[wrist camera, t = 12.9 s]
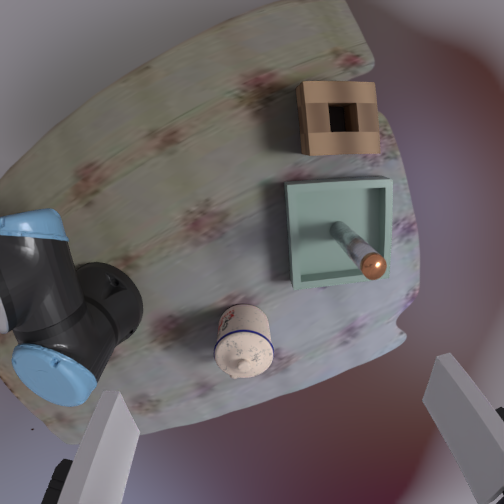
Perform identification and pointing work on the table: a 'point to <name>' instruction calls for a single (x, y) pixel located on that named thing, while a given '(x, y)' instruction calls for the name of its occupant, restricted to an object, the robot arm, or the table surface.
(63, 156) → the table surface
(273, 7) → the table surface
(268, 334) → the teacup with lid
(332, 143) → the block
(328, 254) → the tray
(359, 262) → the pin
